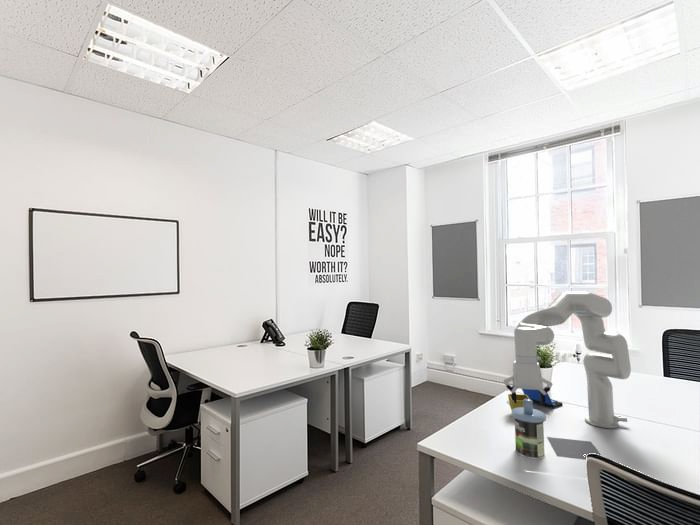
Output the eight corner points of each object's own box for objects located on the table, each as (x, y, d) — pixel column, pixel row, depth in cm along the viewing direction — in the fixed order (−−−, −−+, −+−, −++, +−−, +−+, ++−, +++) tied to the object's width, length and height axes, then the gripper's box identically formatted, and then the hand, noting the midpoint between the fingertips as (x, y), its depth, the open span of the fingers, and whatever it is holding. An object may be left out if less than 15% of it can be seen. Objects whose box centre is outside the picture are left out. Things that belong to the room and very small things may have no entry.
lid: (542, 411, 140) (541, 396, 140) (549, 424, 128) (548, 407, 128) (509, 409, 143) (509, 393, 144) (513, 421, 132) (513, 404, 132)
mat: (590, 442, 142) (590, 441, 142) (606, 462, 127) (606, 461, 127) (546, 437, 147) (546, 436, 147) (557, 457, 132) (556, 456, 132)
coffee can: (525, 460, 130) (523, 422, 130) (510, 447, 140) (508, 411, 141) (551, 458, 131) (549, 420, 131) (534, 445, 141) (533, 410, 141)
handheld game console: (563, 405, 182) (563, 388, 182) (548, 411, 175) (547, 392, 176) (535, 397, 195) (535, 380, 196) (520, 401, 189) (519, 384, 190)
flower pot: (532, 420, 165) (531, 400, 165) (512, 419, 167) (512, 400, 167) (527, 412, 173) (526, 394, 174) (508, 411, 175) (507, 393, 175)
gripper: (548, 357, 138) (550, 401, 137) (501, 356, 143) (503, 398, 142) (553, 362, 131) (555, 408, 130) (503, 360, 136) (505, 404, 135)
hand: (528, 403), depth 136 cm, fingers open, 9 cm apart
